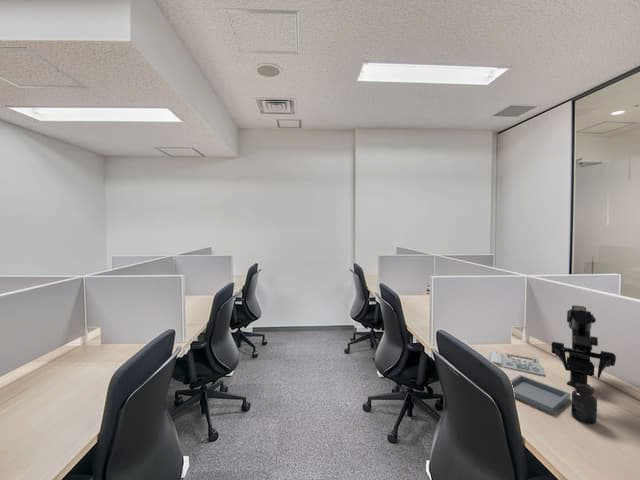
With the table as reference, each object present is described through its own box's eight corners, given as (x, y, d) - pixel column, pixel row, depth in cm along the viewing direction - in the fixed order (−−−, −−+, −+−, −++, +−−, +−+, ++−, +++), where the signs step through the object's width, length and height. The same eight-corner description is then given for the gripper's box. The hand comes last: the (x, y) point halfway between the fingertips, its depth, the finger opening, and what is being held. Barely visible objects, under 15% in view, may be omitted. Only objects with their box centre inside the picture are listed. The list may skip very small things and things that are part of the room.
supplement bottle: (601, 426, 100) (602, 392, 100) (579, 423, 101) (580, 390, 101) (587, 414, 107) (588, 382, 106) (566, 411, 108) (567, 380, 108)
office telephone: (487, 360, 147) (489, 347, 164) (487, 365, 147) (489, 352, 164) (545, 372, 134) (540, 356, 151) (545, 377, 134) (540, 361, 151)
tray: (520, 380, 131) (520, 374, 131) (570, 399, 116) (570, 393, 116) (500, 392, 121) (500, 386, 121) (552, 415, 106) (552, 408, 106)
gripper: (552, 322, 119) (550, 357, 111) (616, 332, 107) (619, 372, 99) (552, 335, 126) (550, 369, 118) (612, 346, 114) (615, 385, 106)
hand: (582, 373), depth 110 cm, fingers open, 9 cm apart
